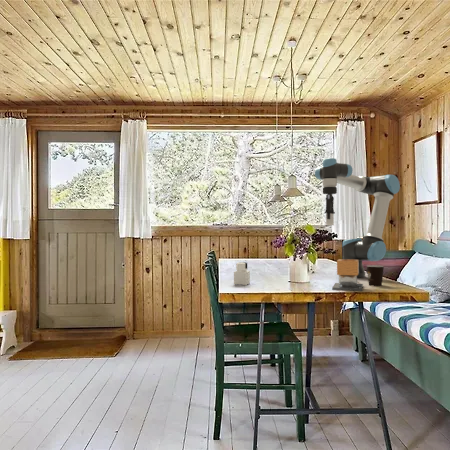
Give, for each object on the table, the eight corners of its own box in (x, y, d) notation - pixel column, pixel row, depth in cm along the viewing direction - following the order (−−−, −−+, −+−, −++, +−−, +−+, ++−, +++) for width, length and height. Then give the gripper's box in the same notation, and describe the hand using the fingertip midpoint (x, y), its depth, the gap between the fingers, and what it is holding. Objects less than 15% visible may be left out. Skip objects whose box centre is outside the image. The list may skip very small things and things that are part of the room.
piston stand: (335, 284, 233) (335, 262, 233) (362, 285, 229) (362, 262, 229) (332, 289, 216) (332, 265, 216) (361, 290, 212) (361, 266, 212)
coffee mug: (385, 286, 226) (384, 267, 226) (367, 286, 228) (367, 266, 228) (381, 283, 237) (381, 265, 237) (365, 283, 239) (365, 264, 239)
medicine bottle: (237, 283, 244) (237, 261, 244) (250, 283, 242) (249, 261, 242) (233, 284, 237) (233, 262, 237) (246, 285, 235) (246, 263, 235)
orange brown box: (338, 272, 229) (338, 259, 229) (358, 273, 226) (358, 259, 226) (337, 274, 219) (337, 260, 219) (357, 275, 216) (357, 261, 216)
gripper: (325, 188, 253) (325, 225, 253) (320, 185, 229) (320, 225, 229) (338, 188, 250) (338, 225, 250) (334, 184, 227) (335, 225, 227)
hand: (330, 225), depth 240 cm, fingers open, 13 cm apart
